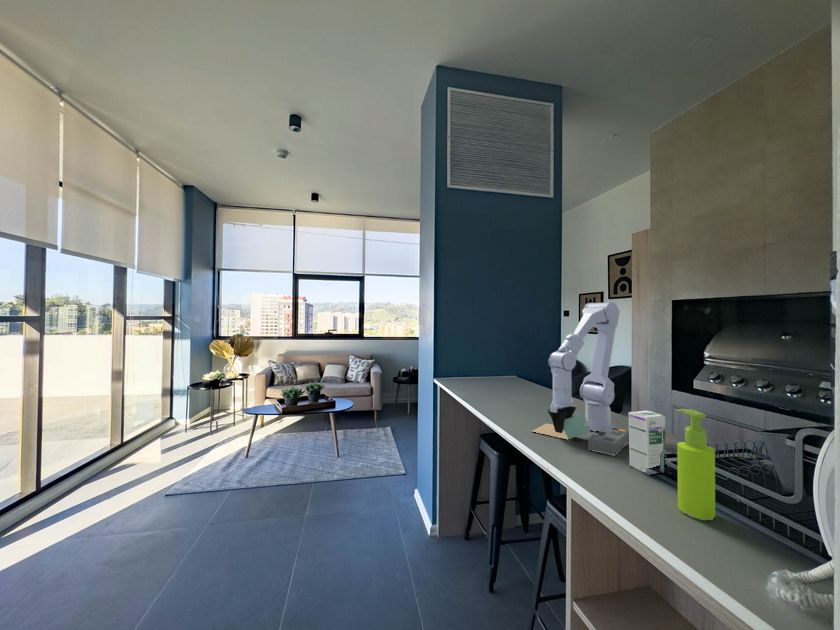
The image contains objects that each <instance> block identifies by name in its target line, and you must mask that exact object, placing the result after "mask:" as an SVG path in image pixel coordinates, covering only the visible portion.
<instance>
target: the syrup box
mask: <svg viewBox="0 0 840 630" xmlns="http://www.w3.org/2000/svg"><path fill="white" fill-rule="evenodd" d="M666 439H667V438H666V416H665V415H664V414H662V413H658V412H655V411H652V410H651V411H650V410H641V411H639V410H638V411H629V412H628V443H629V444H628V447H629V448H628V449H629V452H628V454H629V455H628V456H629V466H630V465H631V466H633V467H635V468H637V469H639V470H641V471H643V472H646V468H653V467H656V466H659V465H660V454H661V452H662V451H663V450H666V451H667V449H666V448H667V446H666V445H667V442H666V441H667V440H666ZM665 457H666V458H667V454H666V455H665Z"/></svg>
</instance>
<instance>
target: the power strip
mask: <svg viewBox="0 0 840 630" xmlns="http://www.w3.org/2000/svg"><path fill="white" fill-rule="evenodd" d="M627 442H628V443H629V431H626V430H625V429H620V428H619V429H618V430H617V429H614V428H612V429H608V428H601V429H600V430H599V431H598V432H597V434H592V435H590V436H589V437H588V438H587V450H588V449H591V450H596V451H601V452H605V453H609V454H614V455H615V454H616V453H617V452H618V451H619V450H620V449H621V448H622V447H623V446H624V445H625V444H626V443H627Z"/></svg>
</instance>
